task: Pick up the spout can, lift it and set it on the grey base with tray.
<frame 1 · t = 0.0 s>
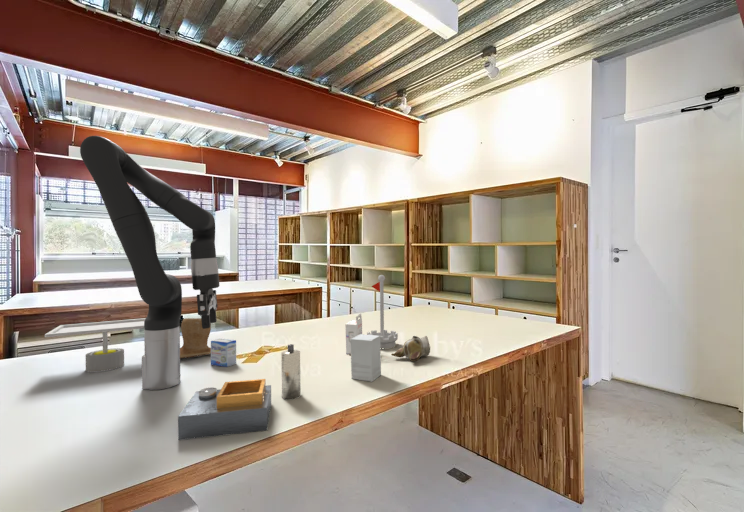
hand: (209, 325, 110), 17 cm above the table, fingers open, 8 cm apart
supplement box: (366, 377, 112), on the table
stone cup: (192, 356, 138), on the table
ceramic sculpture: (414, 359, 131), on the table
medicine box: (223, 364, 127), on the table
ink cartridge box: (354, 351, 142), on the table
solar panel model: (105, 368, 125), on the table
grey base with tray: (229, 420, 84), on the table
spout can: (291, 395, 98), on the table
flag stand: (382, 346, 151), on the table
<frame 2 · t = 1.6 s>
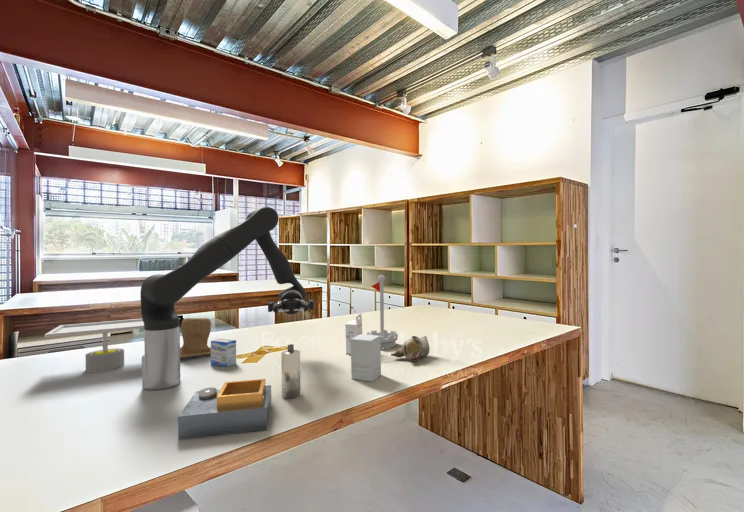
hand: (290, 309, 108), 22 cm above the table, fingers open, 8 cm apart
nothing on the table moved.
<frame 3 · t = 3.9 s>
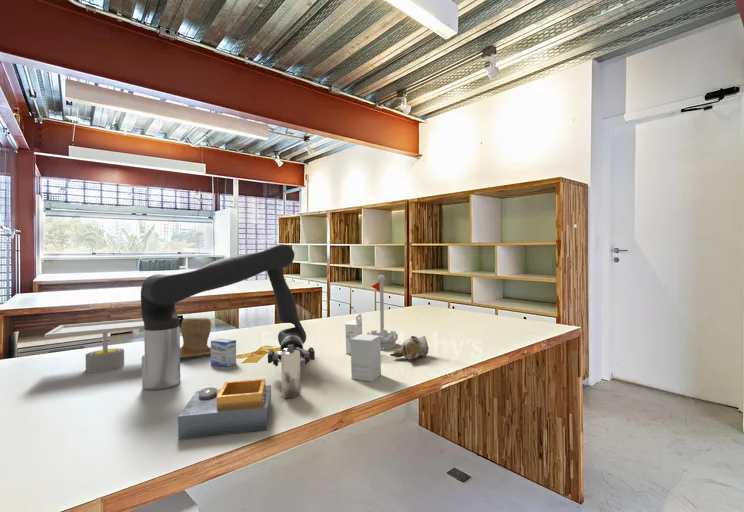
hand: (291, 361, 106), 7 cm above the table, fingers open, 8 cm apart
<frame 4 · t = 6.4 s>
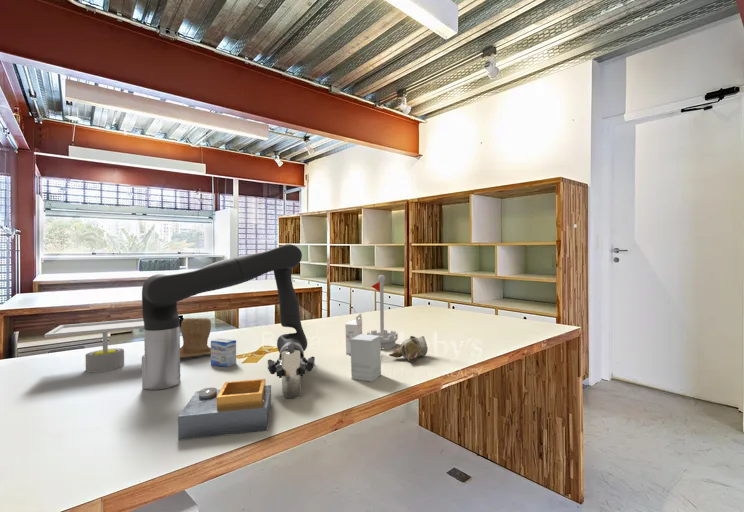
hand: (291, 373, 95), 7 cm above the table, fingers closed on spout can, 5 cm apart
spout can: (291, 395, 98), on the table, touching gripper
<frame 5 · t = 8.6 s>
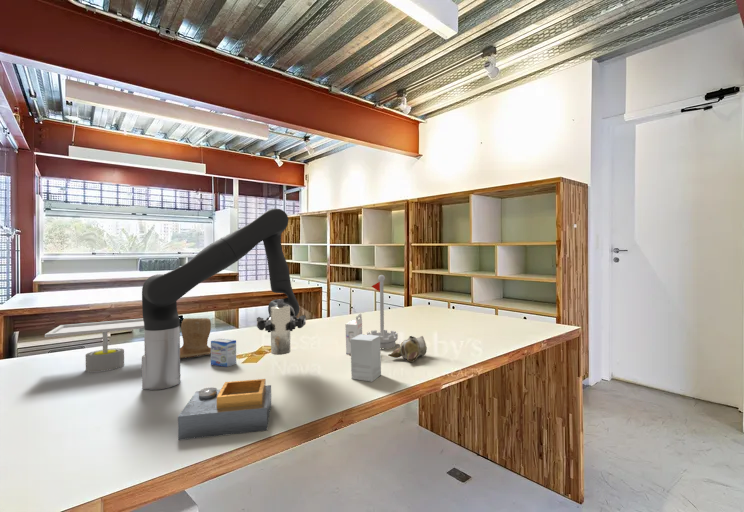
hand: (280, 327, 92), 20 cm above the table, fingers closed on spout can, 5 cm apart
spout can: (280, 352, 95), point 13 cm above the table, touching gripper
when the fingers open (13 cm above the table, at t = 11.3 s): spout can drops 1 cm, resting on grey base with tray.
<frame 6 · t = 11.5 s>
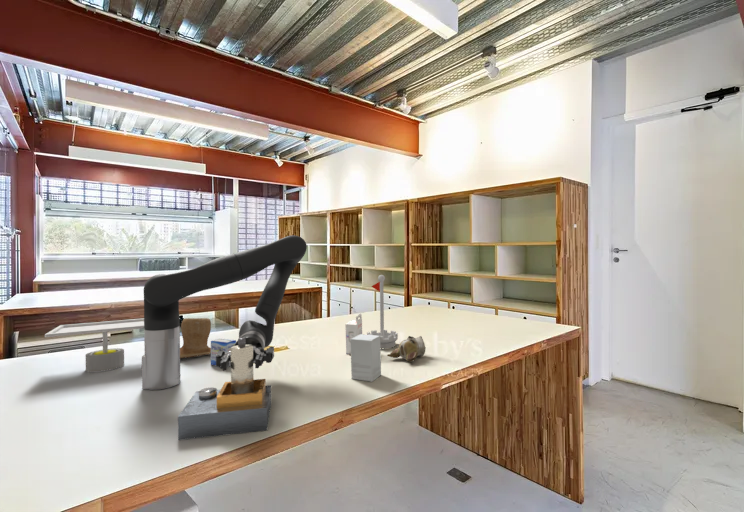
hand: (240, 365, 82), 13 cm above the table, fingers open, 6 cm apart
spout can: (242, 397, 84), point 5 cm above the table, touching grey base with tray
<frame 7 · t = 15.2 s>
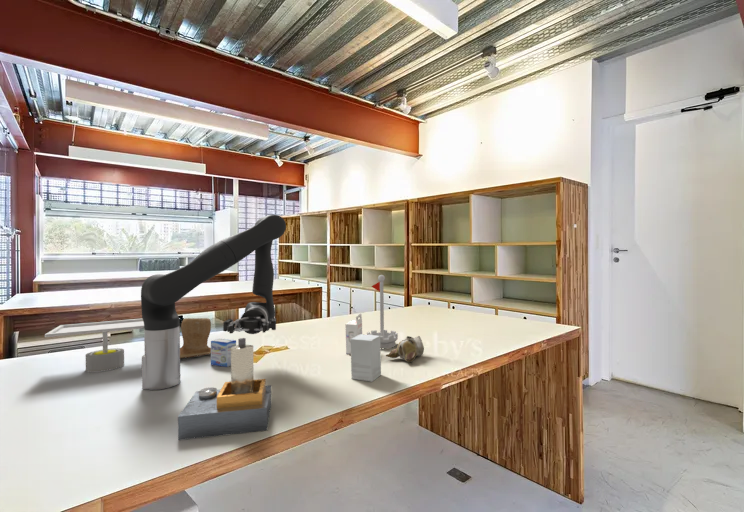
hand: (247, 329, 96), 19 cm above the table, fingers open, 8 cm apart
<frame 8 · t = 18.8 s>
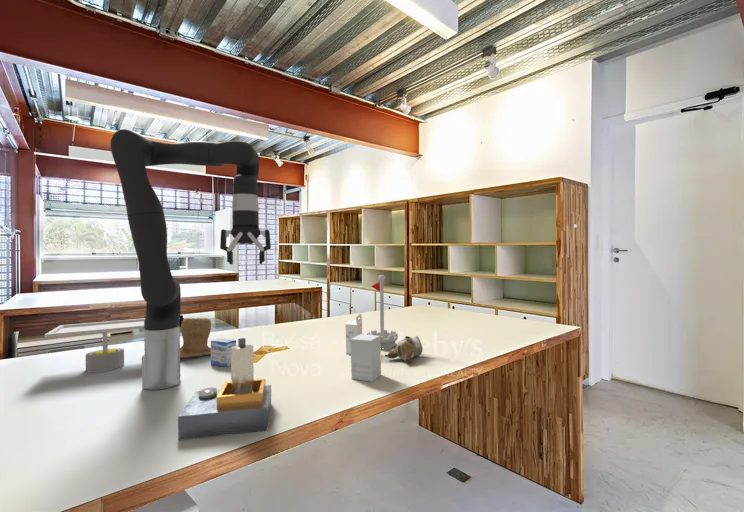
hand: (246, 264, 108), 36 cm above the table, fingers open, 8 cm apart
at the end: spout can 0.0 cm from the target spot on the grey base with tray, point 5.0 cm above the grey base with tray's base; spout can tilted 0°; the gripper is holding nothing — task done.
